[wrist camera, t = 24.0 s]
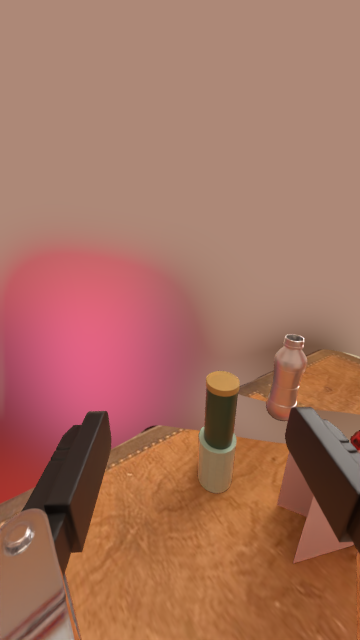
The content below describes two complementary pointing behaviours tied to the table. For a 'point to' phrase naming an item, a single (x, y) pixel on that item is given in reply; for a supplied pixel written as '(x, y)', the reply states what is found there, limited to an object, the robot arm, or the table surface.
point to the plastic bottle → (286, 377)
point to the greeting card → (307, 515)
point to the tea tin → (220, 409)
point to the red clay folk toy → (356, 440)
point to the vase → (215, 465)
